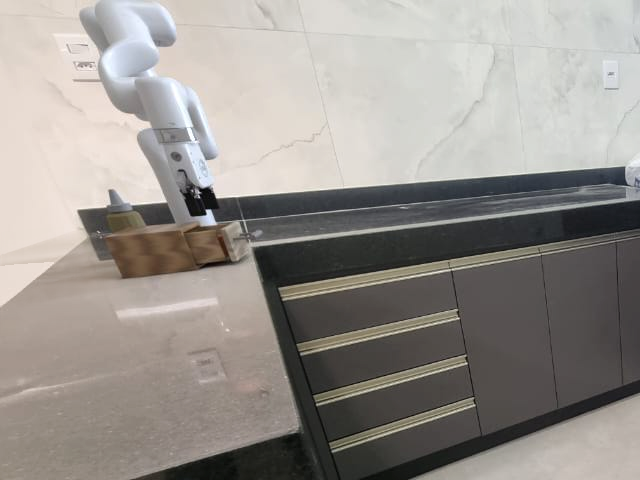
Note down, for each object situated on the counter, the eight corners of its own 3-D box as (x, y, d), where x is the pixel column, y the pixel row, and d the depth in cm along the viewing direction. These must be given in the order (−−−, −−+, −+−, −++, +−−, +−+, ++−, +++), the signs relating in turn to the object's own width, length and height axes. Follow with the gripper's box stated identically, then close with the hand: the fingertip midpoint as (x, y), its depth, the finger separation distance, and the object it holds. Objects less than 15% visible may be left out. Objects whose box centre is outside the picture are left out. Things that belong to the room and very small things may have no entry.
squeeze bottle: (139, 264, 136) (106, 191, 128) (115, 263, 137) (80, 192, 130) (170, 256, 143) (140, 186, 135) (146, 255, 144) (115, 187, 137)
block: (214, 253, 135) (207, 235, 133) (235, 250, 136) (228, 232, 134) (208, 257, 131) (200, 238, 129) (229, 254, 132) (222, 236, 130)
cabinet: (214, 258, 138) (199, 221, 134) (197, 269, 128) (180, 230, 124) (146, 265, 134) (128, 227, 130) (122, 278, 123) (102, 237, 119)
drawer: (271, 248, 142) (260, 219, 138) (260, 258, 132) (249, 226, 129) (189, 257, 136) (176, 227, 133) (171, 268, 126) (157, 235, 123)
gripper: (182, 138, 116) (212, 217, 123) (208, 134, 130) (234, 205, 138) (140, 140, 113) (174, 220, 121) (171, 136, 128) (199, 208, 135)
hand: (206, 212), depth 129 cm, fingers open, 9 cm apart
